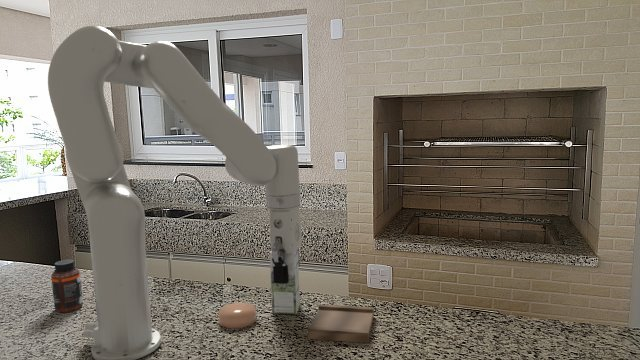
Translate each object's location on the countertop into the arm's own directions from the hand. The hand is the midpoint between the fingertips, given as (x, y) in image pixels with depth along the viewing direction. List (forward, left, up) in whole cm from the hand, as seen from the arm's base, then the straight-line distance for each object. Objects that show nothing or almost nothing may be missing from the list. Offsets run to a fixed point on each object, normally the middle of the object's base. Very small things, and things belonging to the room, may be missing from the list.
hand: (287, 275), depth 109 cm
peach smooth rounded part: (-9, -7, -8) cm, 15 cm away
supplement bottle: (-51, -7, -8) cm, 53 cm away
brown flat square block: (+14, -7, -8) cm, 17 cm away
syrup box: (0, 0, -8) cm, 8 cm away
